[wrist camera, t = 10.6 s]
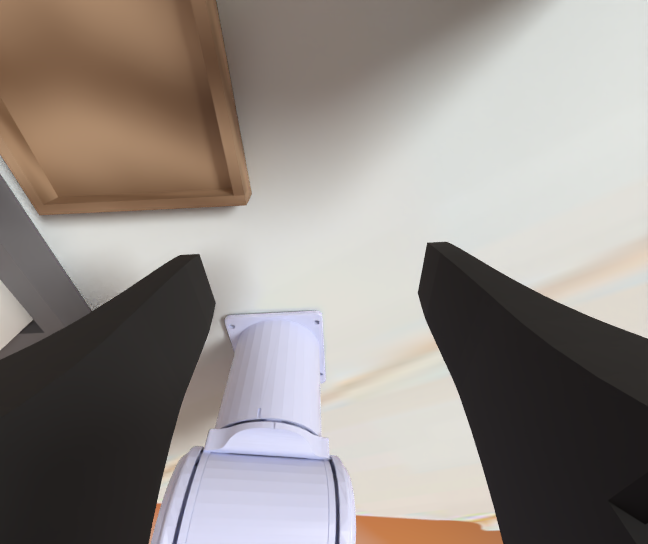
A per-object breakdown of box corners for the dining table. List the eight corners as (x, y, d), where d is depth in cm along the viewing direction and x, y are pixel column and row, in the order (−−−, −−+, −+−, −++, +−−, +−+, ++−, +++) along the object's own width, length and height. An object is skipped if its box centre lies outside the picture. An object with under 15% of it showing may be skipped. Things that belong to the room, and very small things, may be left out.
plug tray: (251, 193, 19) (246, 205, 17) (60, 202, 19) (39, 215, 17) (197, -99, 12) (181, -121, 10) (-107, -86, 12) (-167, -106, 10)
